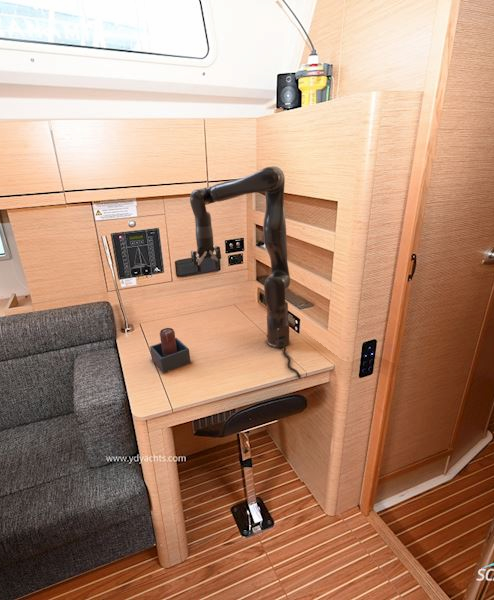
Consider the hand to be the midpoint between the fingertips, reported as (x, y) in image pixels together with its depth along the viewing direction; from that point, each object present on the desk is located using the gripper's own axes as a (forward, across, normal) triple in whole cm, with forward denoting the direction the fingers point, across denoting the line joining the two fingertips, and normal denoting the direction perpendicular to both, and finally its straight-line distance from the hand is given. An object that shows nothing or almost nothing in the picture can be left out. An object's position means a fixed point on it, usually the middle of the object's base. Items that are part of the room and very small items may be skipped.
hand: (207, 270), depth 155 cm
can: (+32, -28, -12) cm, 44 cm away
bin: (+32, -28, -12) cm, 44 cm away
